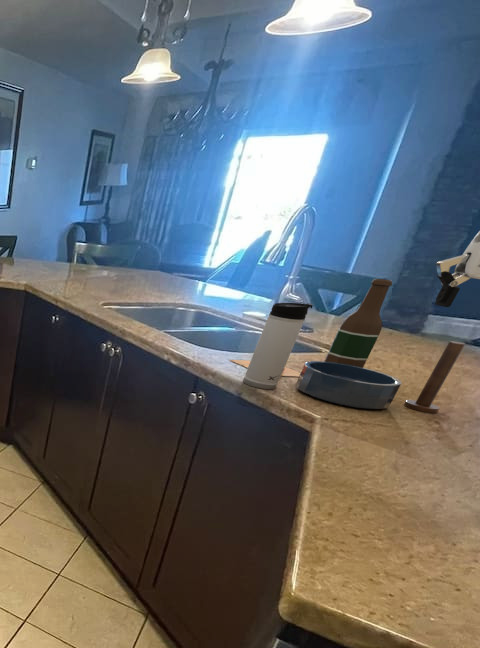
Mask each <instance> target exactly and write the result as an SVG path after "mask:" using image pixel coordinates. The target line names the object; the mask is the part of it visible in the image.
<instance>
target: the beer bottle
mask: <svg viewBox="0 0 480 648" xmlns="http://www.w3.org/2000/svg"><path fill="white" fill-rule="evenodd" d="M370 283H371V286H370V287H369V289H368V291H367V293H366V295H365V296H364V298H363V300H362V302H361V303H360V305H359V306H358V307H357V309H356V310H355V311H353V312H352V313H350V314H348V315H347V316H346V317H345V318H344V320H343V321H342V322H341V324H340V326H339V328H338V329H337V332H336V334H335V336H334V338H333V341H332V343H331V345H330V348H329V350H328V351H327V354H326V356H325V359H324V362H335V363H341V364H348V365H353V366H358V367H363V368H365V365H366V362H367V361H368V359H369V357H370V355H371V352H372V350H373V348H374V347H375V345H376V342H377V341H378V338H379V336H380V333H381V331H382V329H383V321H382V318H381V316H380V313H381V309H382V306H383V304H384V301H385V298H386V296H387V293H388V290H389V289H390V287H392V286H393V281H392V280H391V279H386V278H385V279H384V278H374V279H372V281H371V282H370Z"/></svg>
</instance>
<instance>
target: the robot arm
mask: <svg viewBox="0 0 480 648" xmlns="http://www.w3.org/2000/svg"><path fill="white" fill-rule="evenodd" d="M453 266H455V268H454V272H453V273H451V272H450V270H451V269H450V268H451V267H453ZM435 268H436V272H437V273H436V277H437V278H438V279H439V281H440V284H441V285H442V287H441V288H440V289H439V292H438V294H437V296H436V298H435V303H434V305H436V306H440V307H443V308H449V307H451V306H452V305H453V302H454V300H455V299H456V297H457V295H458V293H459V292H460V289H461V288H460V287H458V286H459V285H461V284H463V283H465V282H468V281H469V280H470V279H477V280H480V230H479V231H478V232H477V234H476V235H475V236H474V237H473V239H472V240H471V241H470V243H469V244H468V245H467V247H466V248H465V250H464V252H463V253H462V254H461V255H457V256H454V257H450V258H445V259H443V260H439V261H437V262H435Z"/></svg>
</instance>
